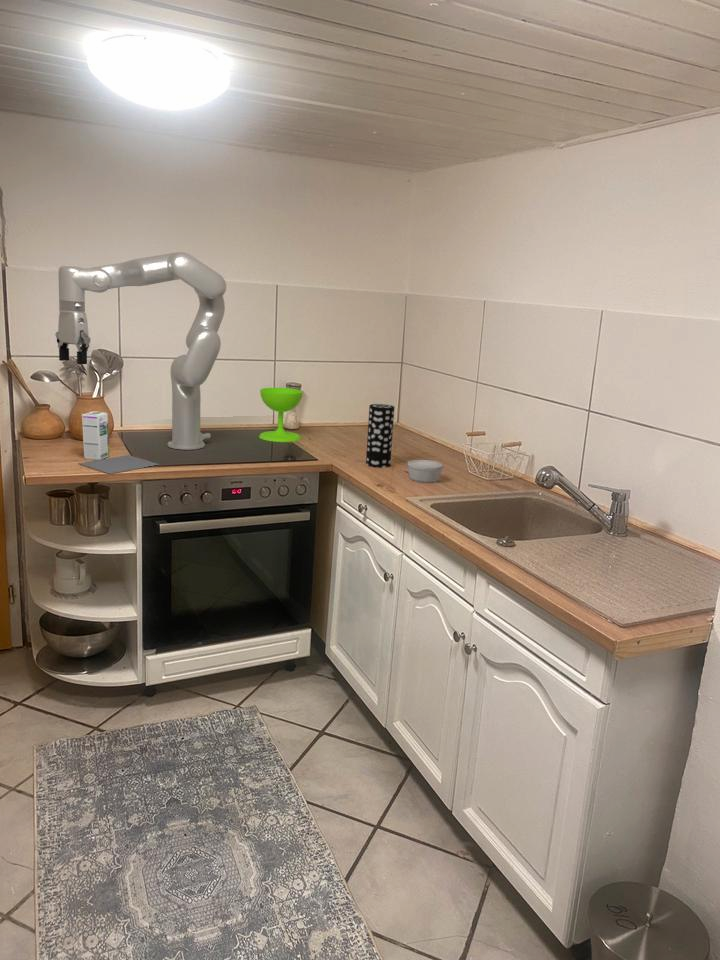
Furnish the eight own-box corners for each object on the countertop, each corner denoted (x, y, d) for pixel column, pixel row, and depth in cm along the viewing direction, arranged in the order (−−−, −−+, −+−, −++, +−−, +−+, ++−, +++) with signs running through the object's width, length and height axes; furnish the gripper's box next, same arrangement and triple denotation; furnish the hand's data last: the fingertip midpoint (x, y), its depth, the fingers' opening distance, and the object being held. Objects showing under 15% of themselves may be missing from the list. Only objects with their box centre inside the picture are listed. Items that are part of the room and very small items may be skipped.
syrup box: (100, 460, 235) (98, 415, 232) (83, 458, 236) (81, 413, 233) (109, 456, 241) (108, 412, 237) (92, 454, 242) (91, 410, 238)
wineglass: (250, 435, 287) (251, 388, 282) (284, 431, 297) (285, 386, 293) (275, 443, 275) (277, 394, 271) (309, 439, 286) (311, 392, 281)
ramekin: (419, 473, 245) (420, 457, 243) (448, 480, 238) (449, 464, 236) (399, 478, 236) (400, 462, 235) (428, 486, 229) (429, 469, 228)
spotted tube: (373, 468, 247) (377, 408, 242) (361, 462, 254) (365, 404, 249) (394, 467, 250) (399, 407, 245) (382, 461, 258) (386, 403, 253)
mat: (128, 455, 243) (128, 455, 243) (159, 465, 234) (159, 464, 234) (78, 464, 229) (78, 463, 229) (109, 474, 220) (109, 473, 220)
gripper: (99, 309, 232) (99, 365, 236) (67, 305, 242) (68, 358, 246) (77, 309, 226) (78, 365, 230) (45, 304, 236) (46, 359, 240)
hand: (73, 362), depth 238 cm, fingers open, 9 cm apart
